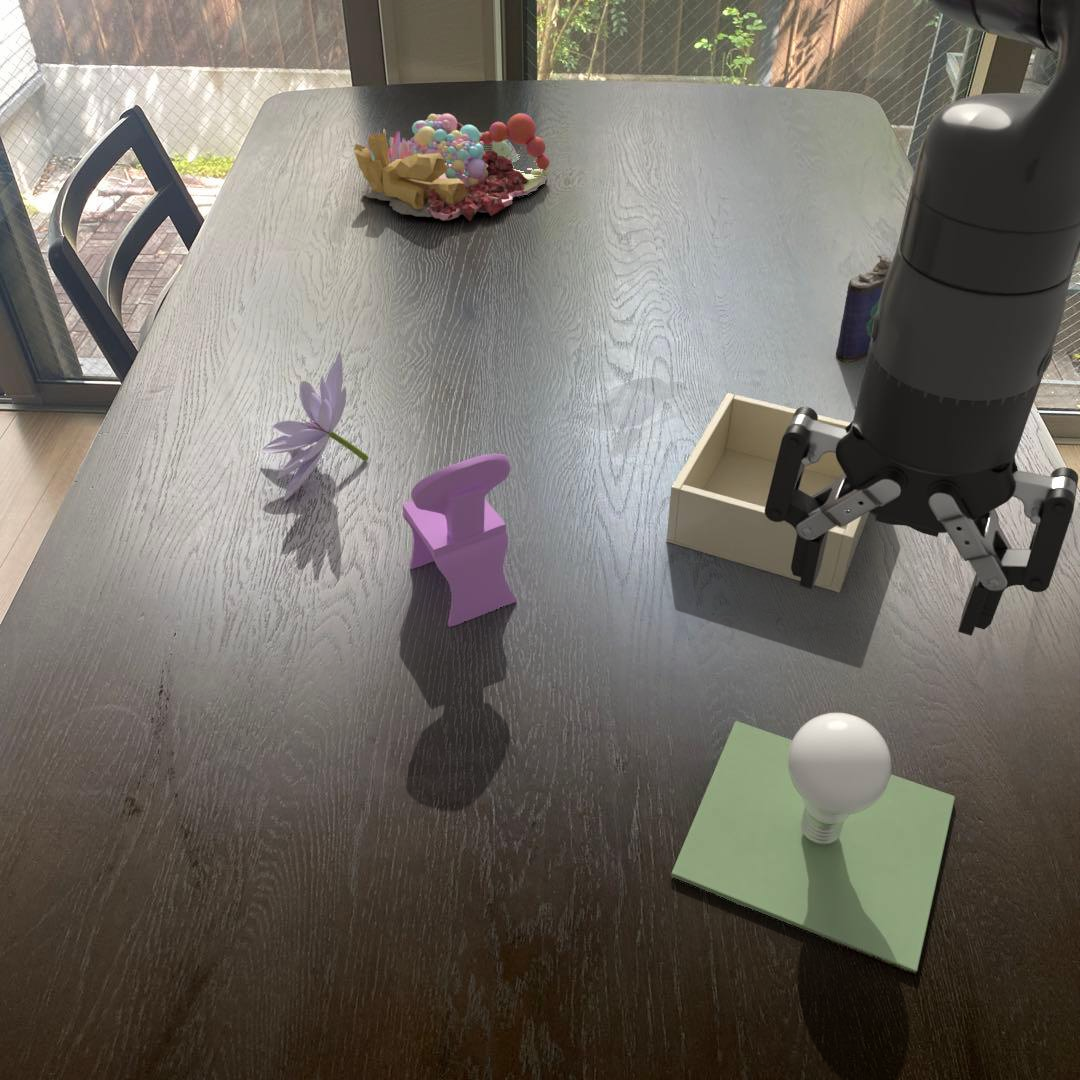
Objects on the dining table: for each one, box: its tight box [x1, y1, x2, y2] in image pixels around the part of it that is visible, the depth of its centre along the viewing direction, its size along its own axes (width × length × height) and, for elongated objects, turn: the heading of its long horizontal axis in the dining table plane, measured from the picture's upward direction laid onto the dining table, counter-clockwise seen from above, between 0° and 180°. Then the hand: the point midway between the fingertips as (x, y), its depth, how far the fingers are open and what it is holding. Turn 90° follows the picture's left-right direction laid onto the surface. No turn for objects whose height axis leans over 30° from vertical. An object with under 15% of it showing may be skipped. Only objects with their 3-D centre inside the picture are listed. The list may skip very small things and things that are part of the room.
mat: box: [670, 720, 956, 972], centre depth 74 cm, size 16×14×1 cm
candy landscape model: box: [352, 112, 550, 222], centre depth 149 cm, size 25×24×9 cm
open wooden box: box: [665, 392, 870, 593], centre depth 97 cm, size 16×16×6 cm
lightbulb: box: [788, 712, 893, 844], centre depth 70 cm, size 6×6×11 cm
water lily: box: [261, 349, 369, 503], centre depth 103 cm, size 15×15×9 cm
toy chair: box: [401, 453, 518, 628], centre depth 88 cm, size 8×9×15 cm
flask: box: [835, 253, 894, 363], centre depth 117 cm, size 9×3×11 cm, turn 133°
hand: (886, 600), depth 59 cm, fingers open, 8 cm apart
